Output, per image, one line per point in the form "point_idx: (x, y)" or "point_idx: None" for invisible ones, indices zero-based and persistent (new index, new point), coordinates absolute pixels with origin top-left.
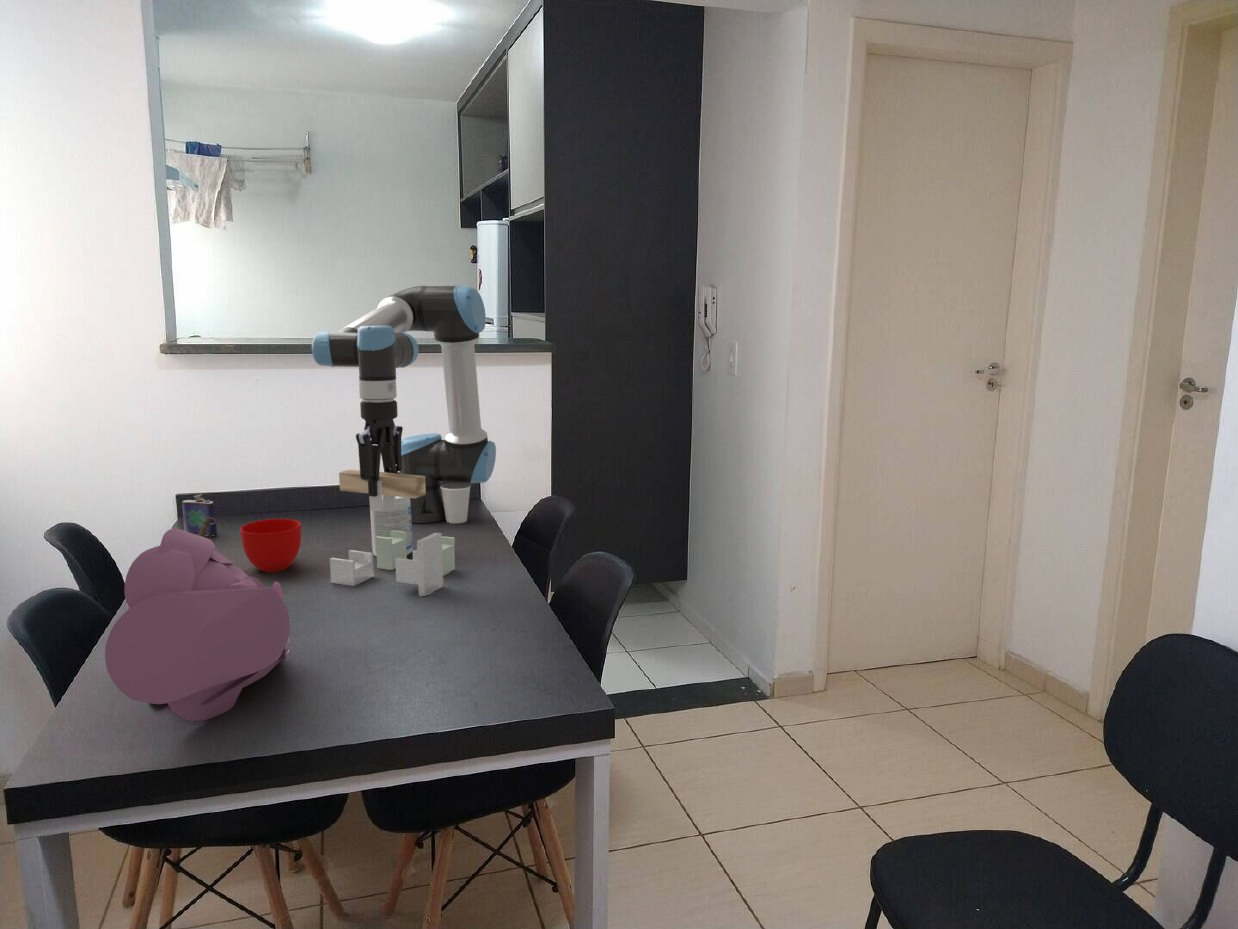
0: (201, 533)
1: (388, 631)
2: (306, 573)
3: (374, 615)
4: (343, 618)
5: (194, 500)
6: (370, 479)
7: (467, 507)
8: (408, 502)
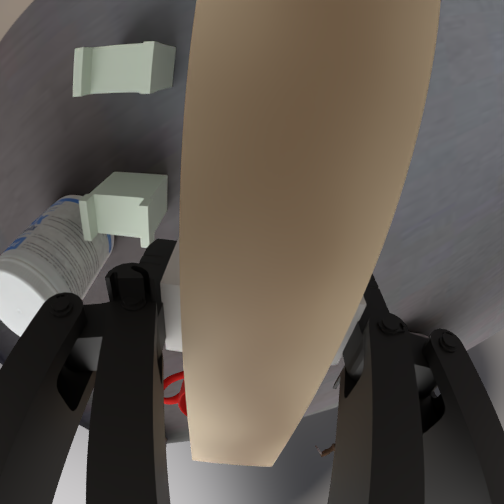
0: None
1: (485, 50)
2: None
3: (434, 90)
4: (451, 140)
5: None
6: (452, 335)
7: None
8: (5, 257)
